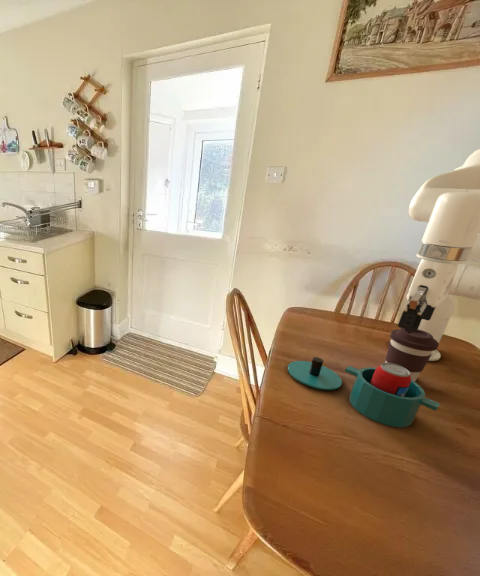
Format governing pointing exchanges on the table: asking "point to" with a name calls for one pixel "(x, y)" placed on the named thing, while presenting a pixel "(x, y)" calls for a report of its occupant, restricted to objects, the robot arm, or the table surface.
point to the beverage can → (391, 379)
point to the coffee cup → (411, 350)
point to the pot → (386, 400)
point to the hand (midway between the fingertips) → (413, 323)
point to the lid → (314, 374)
